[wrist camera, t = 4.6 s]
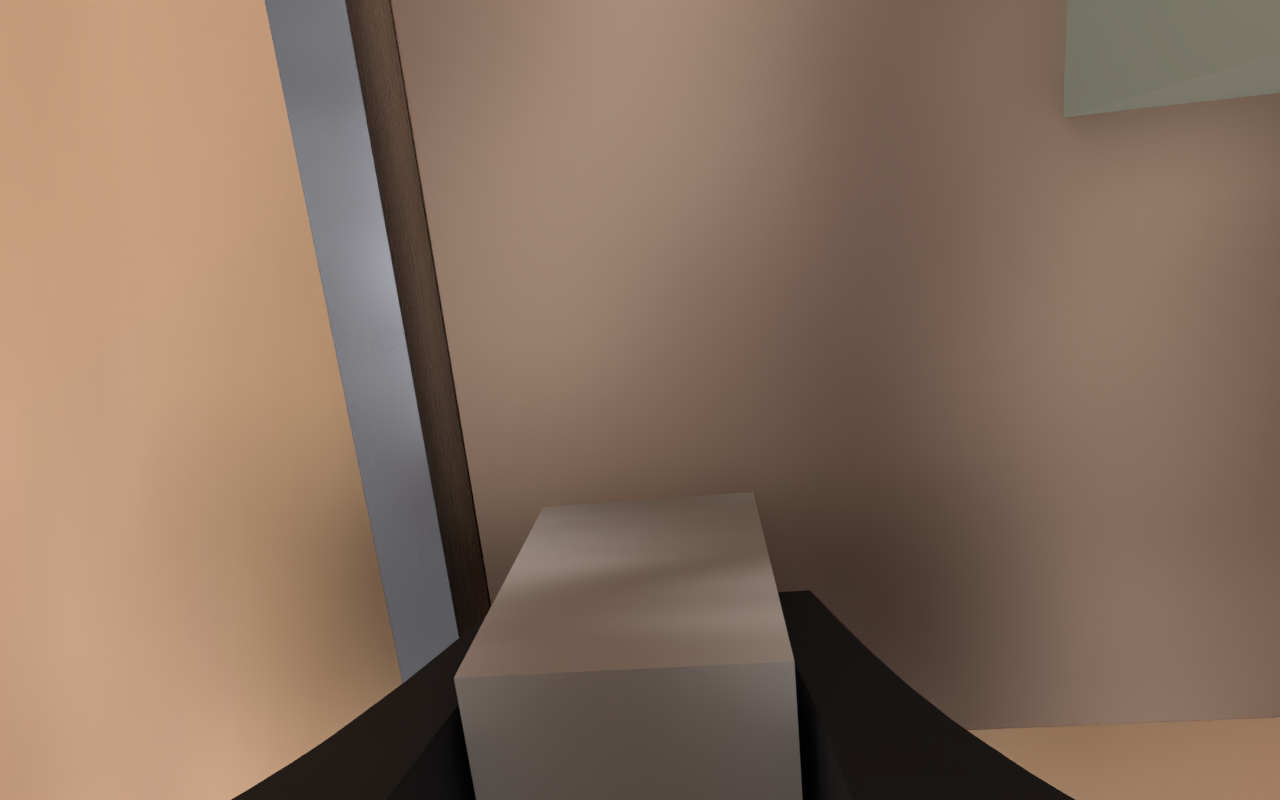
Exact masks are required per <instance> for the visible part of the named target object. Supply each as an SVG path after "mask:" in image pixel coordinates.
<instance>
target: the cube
mask: <svg viewBox="0 0 1280 800" xmlns="http://www.w3.org/2000/svg"><path fill="white" fill-rule="evenodd" d="M1275 93H1280V0H1067V15H1066V46H1065V77H1064V108H1063V117H1072V116H1081V115H1089V114H1098V113H1107V112H1116V111H1125V110H1134V109H1142V108H1151V107H1160V106H1169V105H1178V104H1187V103H1195V102H1204V101H1213V100H1222V99H1231V98H1240V97H1248V96H1257V95H1266V94H1275Z"/></svg>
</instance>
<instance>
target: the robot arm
mask: <svg viewBox="0 0 1280 800" xmlns="http://www.w3.org/2000/svg"><path fill="white" fill-rule="evenodd" d="M778 595H779V600H780V604H781V608H782V612H783V616H784V620H785V624H786V628H787V632H788V637H789V641H790V645H791V649H792V653H793V657H794V662H795V679H796V696H797V713H798V730H799V747H800V764H801V782H802V799H803V800H1075V799H1073V798H1071V797H1069V796H1068V795H1066V794H1064V793H1062V792H1061V791H1059V790H1058V789H1056V788H1054V787H1053V786H1051V785H1049V784H1048V783H1046V782H1044V781H1043V780H1041V779H1039V778H1038V777H1036V776H1034V775H1033V774H1031V773H1030V772H1028V771H1026V770H1025V769H1023V768H1022V767H1020V766H1019V765H1017V764H1016V763H1014V762H1013V761H1011V760H1010V759H1008V758H1007V757H1005V756H1004V755H1002V754H1001V753H999V752H998V751H996V750H995V749H993V748H992V747H990V746H989V745H987V744H986V743H984V742H983V741H981V740H980V739H978V738H977V737H975V736H974V735H973V734H971V733H970V732H968V731H967V730H966V729H964V728H963V727H962V726H960V725H959V724H957V723H956V722H955V721H953V720H952V719H951V718H949V717H948V716H947V715H945V714H944V713H943V712H942V711H940V710H939V709H938V708H937V707H935V706H934V705H933V704H931V703H930V702H929V701H928V700H926V699H925V698H924V697H923V696H921V695H920V694H919V693H918V692H916V691H915V690H914V689H913V688H912V687H910V686H909V685H908V684H907V683H906V682H904V681H903V680H902V679H901V678H900V677H899V676H898V675H897V674H896V673H894V672H893V671H892V670H891V669H890V668H889V667H888V666H887V665H886V664H884V663H883V662H882V661H881V660H880V659H879V658H878V657H877V656H876V655H874V654H873V653H872V652H871V651H870V650H869V649H868V648H867V647H866V646H865V645H864V644H863V643H862V642H861V641H860V640H859V639H858V638H857V637H856V636H855V635H854V634H853V633H852V632H851V631H850V630H849V629H848V628H847V627H846V626H845V625H844V624H843V623H842V622H841V621H840V620H839V619H838V618H837V617H836V616H835V615H834V614H833V613H832V612H831V611H830V610H829V609H828V608H827V607H826V606H825V605H824V604H823V603H822V602H821V600H820V599H819V598H818V597H816V596H815V595H814V594H813V593H812V592H811V591H810V590H806V591H788V592H778ZM484 619H485V618H483V619H482V620H481V621H479V622H478V623H477V624H476V625H474V626H473V627H472V628H471V629H469V630H468V631H467V632H466V633H464V634H463V635H462V636H461V637H460V638H458V639H457V640H456V641H455V642H453V643H452V644H451V645H450V646H449V647H447V648H446V649H445V650H444V651H443V652H441V653H440V654H439V655H438V656H436V657H435V658H434V659H433V660H431V661H430V662H429V663H428V664H426V665H425V666H424V667H423V668H421V669H420V670H419V671H418V672H416V673H415V674H414V675H413V676H411V677H410V678H409V679H408V680H407V681H405V682H404V683H403V684H401V685H400V686H399V687H398V688H396V689H395V690H394V691H392V692H391V693H390V694H388V695H387V696H386V697H384V698H383V699H381V700H380V701H379V702H377V703H376V704H375V705H373V706H372V707H371V708H369V709H368V710H367V711H365V712H364V713H363V714H361V715H360V716H358V717H357V718H356V719H354V720H353V721H352V722H350V723H349V724H348V725H346V726H345V727H344V728H342V729H341V730H339V731H338V732H337V733H335V734H334V735H333V736H331V737H330V738H328V739H327V740H325V741H324V742H322V743H321V744H320V745H318V746H317V747H315V748H314V749H312V750H311V751H309V752H308V753H306V754H304V755H303V756H301V757H300V758H298V759H297V760H295V761H294V762H292V763H291V764H289V765H287V766H286V767H284V768H283V769H281V770H279V771H278V772H276V773H275V774H273V775H271V776H270V777H268V778H266V779H265V780H263V781H262V782H260V783H258V784H257V785H255V786H254V787H252V788H250V789H249V790H247V791H245V792H244V793H242V794H240V795H238V796H237V797H235V798H233V799H232V800H476V796H475V791H474V786H473V780H472V775H471V769H470V764H469V758H468V753H467V747H466V742H465V736H464V731H463V725H462V720H461V715H460V709H459V704H458V698H457V693H456V687H455V682H454V677H455V675H456V673H457V671H458V669H459V667H460V665H461V663H462V661H463V659H464V658H465V656H466V654H467V652H468V650H469V648H470V646H471V644H472V642H473V640H474V638H475V637H476V635H477V633H478V631H479V629H480V627H481V625H482V623H483V621H484Z"/></svg>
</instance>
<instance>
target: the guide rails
mask: <svg viewBox="0 0 1280 800" xmlns="http://www.w3.org/2000/svg"><path fill="white" fill-rule="evenodd" d="M265 4H266V9H267V14H268V19H269V24H270V29H271V34H272V39H273V44H274V49H275V54H276V59H277V64H278V69H279V74H280V78H281V83H282V88H283V93H284V98H285V103H286V108H287V113H288V118H289V123H290V128H291V133H292V138H293V143H294V148H295V153H296V158H297V163H298V168H299V172H300V177H301V182H302V187H303V192H304V197H305V202H306V207H307V212H308V217H309V222H310V227H311V232H312V237H313V242H314V247H315V252H316V257H317V262H318V267H319V271H320V276H321V281H322V286H323V291H324V296H325V301H326V306H327V311H328V316H329V321H330V326H331V331H332V336H333V341H334V346H335V351H336V356H337V361H338V365H339V370H340V375H341V380H342V385H343V390H344V395H345V400H346V405H347V410H348V415H349V420H350V425H351V430H352V435H353V440H354V445H355V450H356V455H357V459H358V464H359V469H360V474H361V479H362V484H363V489H364V494H365V499H366V504H367V509H368V514H369V519H370V524H371V529H372V534H373V539H374V544H375V549H376V554H377V558H378V563H379V568H380V573H381V578H382V583H383V588H384V593H385V598H386V603H387V608H388V613H389V618H390V623H391V628H392V633H393V638H394V643H395V648H396V652H397V657H398V662H399V667H400V672H401V677H402V682H403V683H404V682H405V681H407V680H408V679H409V678H410V677H411V676H413V675H414V674H415V673H416V672H418V671H419V670H420V669H421V668H423V667H424V666H425V665H426V664H428V663H429V662H430V661H431V660H433V659H434V658H435V657H436V656H438V655H439V654H440V653H441V652H443V651H444V650H445V649H446V648H447V647H449V646H450V645H451V644H452V643H453V642H455V641H456V640H457V639H458V638H460V637H461V636H462V635H463V634H464V633H466V632H467V631H468V630H469V629H471V628H472V627H473V626H474V625H476V624H477V623H478V622H479V621H481V620H482V619H483V618H485V617H486V616H487V614H488V612H489V610H490V605H489V599H488V593H487V587H486V581H485V575H484V569H483V563H482V557H481V551H480V545H479V539H478V533H477V527H476V521H475V515H474V509H473V503H472V497H471V491H470V485H469V479H468V473H467V467H466V460H465V454H464V448H463V442H462V436H461V430H460V424H459V418H458V412H457V406H456V400H455V394H454V388H453V382H452V376H451V370H450V364H449V358H448V352H447V346H446V340H445V334H444V328H443V322H442V316H441V310H440V304H439V298H438V291H437V285H436V279H435V273H434V267H433V261H432V255H431V249H430V243H429V237H428V231H427V225H426V219H425V213H424V207H423V201H422V195H421V189H420V183H419V177H418V171H417V165H416V159H415V153H414V147H413V141H412V135H411V129H410V122H409V116H408V110H407V104H406V98H405V92H404V86H403V80H402V74H401V68H400V62H399V56H398V50H397V44H396V38H395V32H394V26H393V20H392V14H391V8H390V2H389V0H265Z"/></svg>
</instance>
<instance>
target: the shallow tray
mask: <svg viewBox="0 0 1280 800" xmlns="http://www.w3.org/2000/svg"><path fill="white" fill-rule="evenodd" d="M391 1H392V7H393V13H394V20H395V26H396V32H397V38H398V44H399V50H400V56H401V62H402V68H403V74H404V80H405V86H406V92H407V98H408V104H409V110H410V116H411V122H412V129H413V135H414V141H415V147H416V153H417V159H418V165H419V171H420V177H421V183H422V189H423V195H424V201H425V207H426V213H427V219H428V225H429V232H430V238H431V244H432V250H433V256H434V262H435V268H436V274H437V280H438V286H439V292H440V298H441V304H442V310H443V316H444V322H445V328H446V335H447V341H448V347H449V353H450V359H451V365H452V371H453V377H454V383H455V389H456V395H457V401H458V407H459V413H460V419H461V425H462V431H463V438H464V444H465V450H466V456H467V462H468V468H469V474H470V480H471V486H472V492H473V498H474V504H475V510H476V516H477V522H478V528H479V534H480V541H481V547H482V553H483V559H484V565H485V571H486V577H487V583H488V589H489V595H490V601H491V608H490V610H489V612H488V614H487V616H486V617H485V619H484V621H483V623H482V625H481V627H480V629H479V631H478V633H477V635H476V637H475V638H474V640H473V642H472V644H471V646H470V648H469V650H468V652H467V654H466V656H465V658H464V659H463V661H462V663H461V665H460V667H459V669H458V671H457V673H456V675H455V677H454V682H455V687H456V693H457V698H458V704H459V709H460V715H461V720H462V725H463V731H464V736H465V742H466V747H467V753H468V758H469V764H470V769H471V775H472V780H473V786H474V791H475V796H476V800H803V799H802V782H801V764H800V747H799V730H798V713H797V696H796V679H795V662H794V657H793V653H792V649H791V645H790V641H789V637H788V632H787V628H786V624H785V620H784V616H783V612H782V608H781V604H780V600H779V595H778V592H788V591H806V590H810V591H811V592H812V593H813V594H814V595H815V596H816V597H818V598H819V599H820V600H821V602H822V603H823V604H824V605H825V606H826V607H827V608H828V609H829V610H830V611H831V612H832V613H833V614H834V615H835V616H836V617H837V618H838V619H839V620H840V621H841V622H842V623H843V624H844V625H845V626H846V627H847V628H848V629H849V630H850V631H851V632H852V633H853V634H854V635H855V636H856V637H857V638H858V639H859V640H860V641H861V642H862V643H863V644H864V645H865V646H866V647H867V648H868V649H869V650H870V651H871V652H872V653H873V654H874V655H876V656H877V657H878V658H879V659H880V660H881V661H882V662H883V663H884V664H886V665H887V666H888V667H889V668H890V669H891V670H892V671H893V672H894V673H896V674H897V675H898V676H899V677H900V678H901V679H902V680H903V681H904V682H906V683H907V684H908V685H909V686H910V687H912V688H913V689H914V690H915V691H916V692H918V693H919V694H920V695H921V696H923V697H924V698H925V699H926V700H928V701H929V702H930V703H931V704H933V705H934V706H935V707H937V708H938V709H939V710H940V711H942V712H943V713H944V714H945V715H947V716H948V717H949V718H951V719H952V720H953V721H955V722H956V723H957V724H959V725H960V726H962V727H963V728H964V729H966V730H977V729H1002V728H1027V727H1052V726H1077V725H1102V724H1127V723H1152V722H1177V721H1202V720H1227V719H1252V718H1277V717H1280V93H1275V94H1266V95H1257V96H1248V97H1240V98H1231V99H1222V100H1213V101H1204V102H1195V103H1187V104H1178V105H1169V106H1160V107H1151V108H1142V109H1134V110H1125V111H1116V112H1107V113H1098V114H1089V115H1081V116H1072V117H1063V108H1064V77H1065V46H1066V15H1067V0H391Z"/></svg>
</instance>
